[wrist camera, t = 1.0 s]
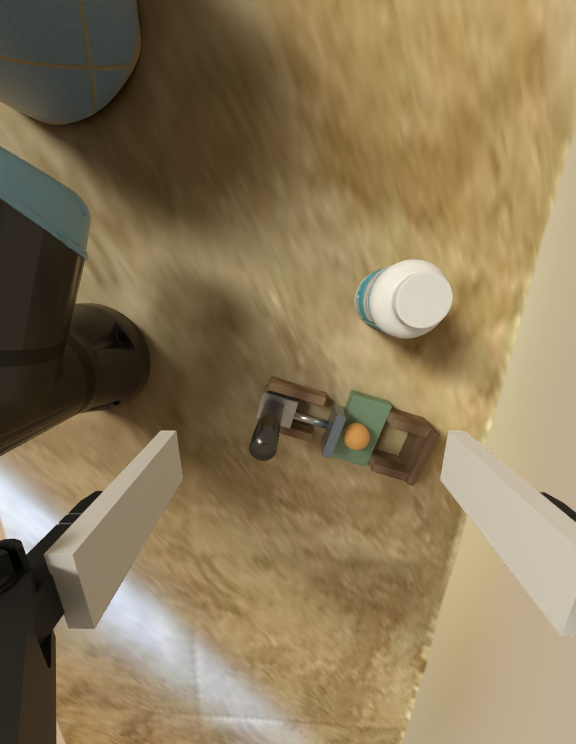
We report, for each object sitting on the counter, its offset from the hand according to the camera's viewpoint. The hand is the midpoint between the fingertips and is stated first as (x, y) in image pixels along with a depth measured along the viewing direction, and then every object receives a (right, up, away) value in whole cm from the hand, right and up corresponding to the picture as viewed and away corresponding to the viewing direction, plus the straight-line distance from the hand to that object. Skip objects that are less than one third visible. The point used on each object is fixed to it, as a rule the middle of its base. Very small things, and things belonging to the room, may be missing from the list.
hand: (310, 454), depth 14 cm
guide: (-1, -1, +28) cm, 28 cm away
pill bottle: (+11, +14, +23) cm, 29 cm away
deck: (+9, -4, +28) cm, 30 cm away
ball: (+8, -5, +24) cm, 26 cm away
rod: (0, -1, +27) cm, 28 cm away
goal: (+15, -6, +28) cm, 32 cm away
